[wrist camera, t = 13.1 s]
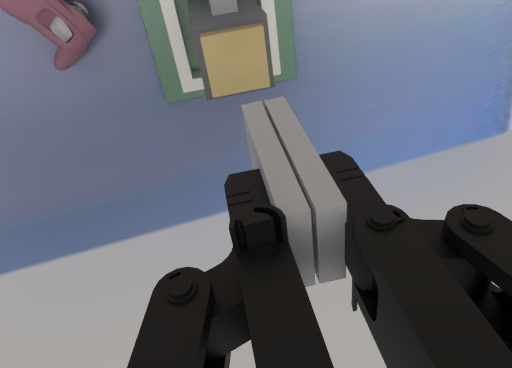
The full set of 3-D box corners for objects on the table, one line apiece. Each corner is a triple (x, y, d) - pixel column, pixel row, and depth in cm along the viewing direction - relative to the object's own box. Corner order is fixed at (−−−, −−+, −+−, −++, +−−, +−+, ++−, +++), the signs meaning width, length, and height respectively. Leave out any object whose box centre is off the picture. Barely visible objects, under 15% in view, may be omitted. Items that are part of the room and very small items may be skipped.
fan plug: (199, 54, 32) (207, 105, 23) (184, -14, 29) (187, 15, 20) (250, 44, 32) (277, 91, 23) (240, -24, 29) (267, 1, 20)
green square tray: (167, 100, 34) (166, 112, 32) (122, -53, 27) (117, -51, 25) (295, 75, 35) (302, 85, 33) (283, -81, 28) (292, -81, 26)
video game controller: (99, 33, 32) (111, 21, 26) (65, 76, 31) (69, 74, 25) (-25, -71, 27) (-45, -115, 21) (-68, -22, 26) (-100, -53, 20)
